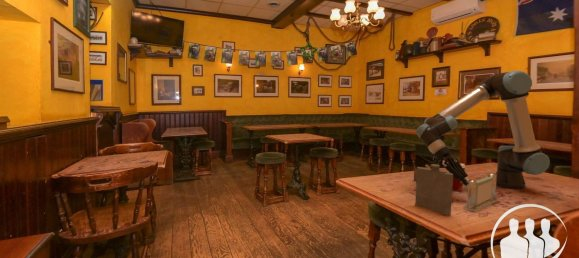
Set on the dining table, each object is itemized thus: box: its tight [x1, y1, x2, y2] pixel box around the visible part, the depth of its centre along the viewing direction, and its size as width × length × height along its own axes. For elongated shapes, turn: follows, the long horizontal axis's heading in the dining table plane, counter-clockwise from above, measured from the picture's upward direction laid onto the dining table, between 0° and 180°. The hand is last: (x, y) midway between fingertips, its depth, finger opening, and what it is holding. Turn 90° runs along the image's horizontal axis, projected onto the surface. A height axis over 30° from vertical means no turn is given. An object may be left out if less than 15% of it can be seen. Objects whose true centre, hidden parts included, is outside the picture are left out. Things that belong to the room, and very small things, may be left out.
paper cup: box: [452, 162, 466, 192], centre depth 160 cm, size 8×8×14 cm
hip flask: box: [414, 163, 453, 217], centre depth 128 cm, size 16×4×20 cm, turn 32°
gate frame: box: [462, 172, 499, 213], centre depth 135 cm, size 25×5×13 cm, turn 127°
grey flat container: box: [413, 163, 431, 182], centre depth 178 cm, size 11×3×10 cm, turn 113°
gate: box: [475, 176, 493, 206], centre depth 135 cm, size 18×2×10 cm, turn 127°
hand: (473, 190), depth 138 cm, fingers closed
